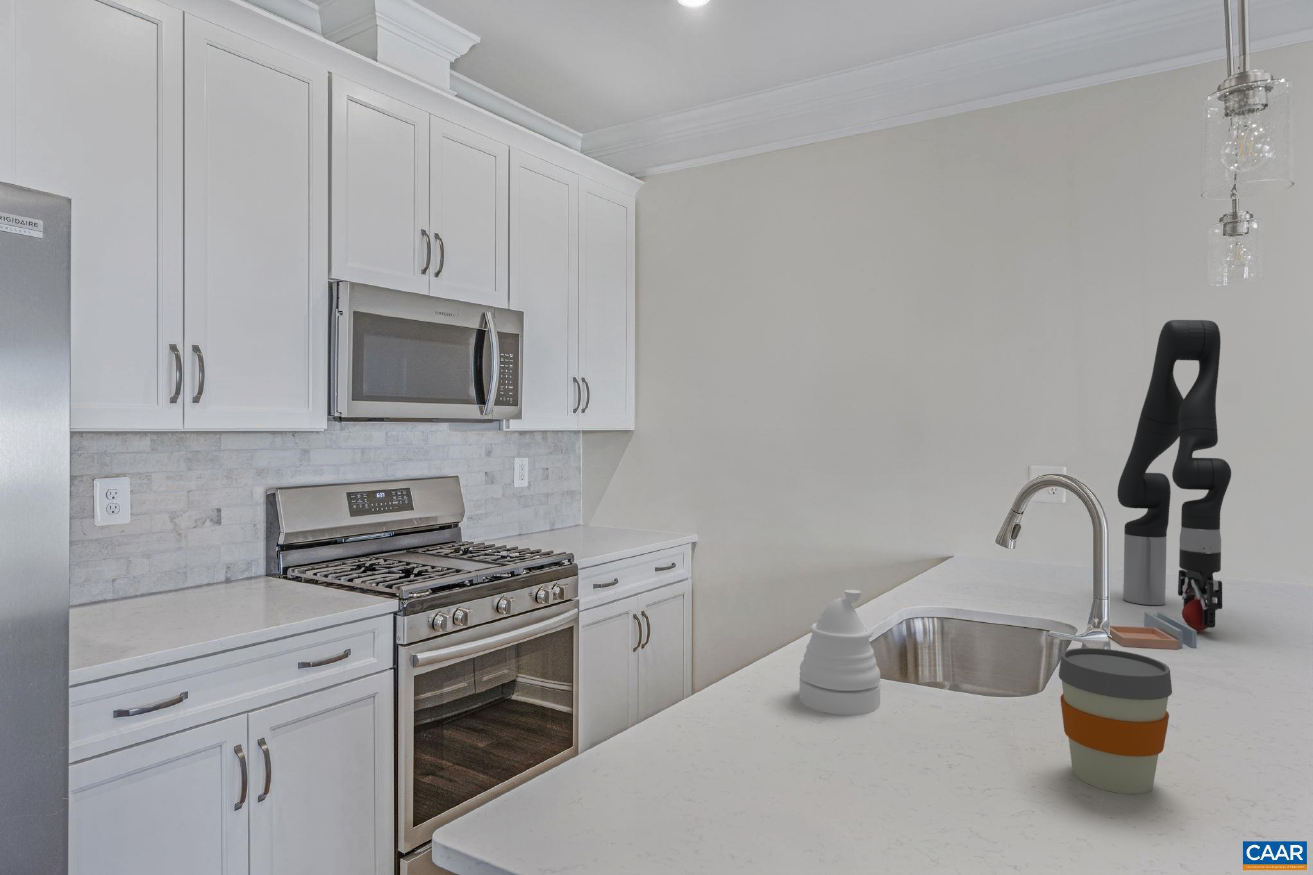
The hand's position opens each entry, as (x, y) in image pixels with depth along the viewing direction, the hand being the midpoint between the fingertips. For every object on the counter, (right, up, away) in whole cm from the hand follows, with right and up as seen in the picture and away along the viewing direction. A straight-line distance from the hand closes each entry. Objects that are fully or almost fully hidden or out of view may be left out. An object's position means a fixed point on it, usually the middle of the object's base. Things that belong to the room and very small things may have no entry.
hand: (1198, 622), depth 173 cm
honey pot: (-89, -2, -45) cm, 100 cm away
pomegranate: (0, -2, 0) cm, 2 cm away
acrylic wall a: (-8, -2, -4) cm, 9 cm away
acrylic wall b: (-11, -2, -5) cm, 12 cm away
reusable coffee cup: (-61, -3, -72) cm, 94 cm away
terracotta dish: (-18, -2, -8) cm, 19 cm away
